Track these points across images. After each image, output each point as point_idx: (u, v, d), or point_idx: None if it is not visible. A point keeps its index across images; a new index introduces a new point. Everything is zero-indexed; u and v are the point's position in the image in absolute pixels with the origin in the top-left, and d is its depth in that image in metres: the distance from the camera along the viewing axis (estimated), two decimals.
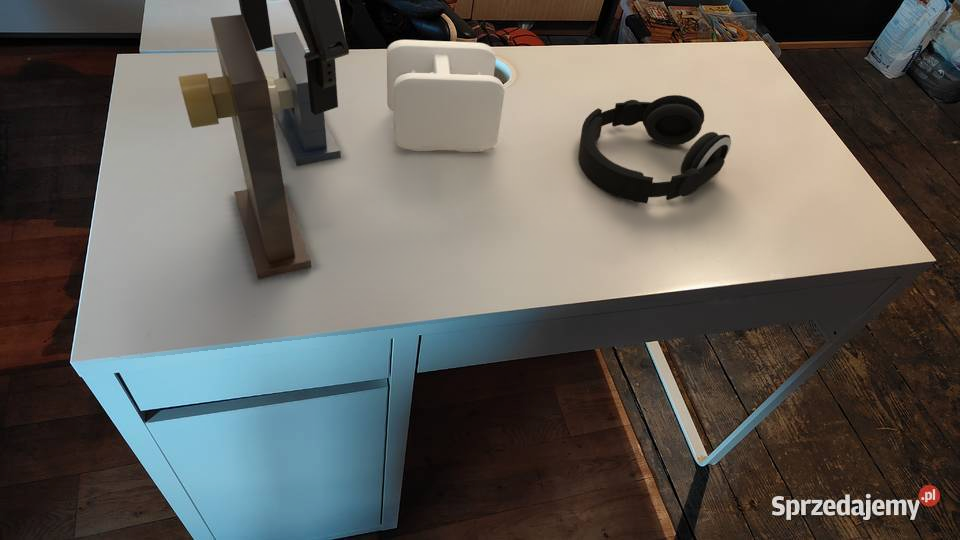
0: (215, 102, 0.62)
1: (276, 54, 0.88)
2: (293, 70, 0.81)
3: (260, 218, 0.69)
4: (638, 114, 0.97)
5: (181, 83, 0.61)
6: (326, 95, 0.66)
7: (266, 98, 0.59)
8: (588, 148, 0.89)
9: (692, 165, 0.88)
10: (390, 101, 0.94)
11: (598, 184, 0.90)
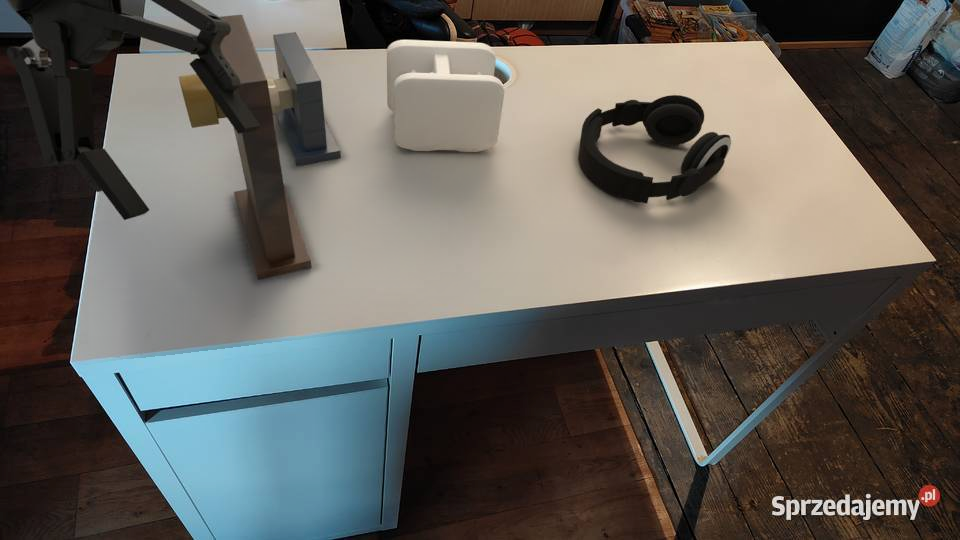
0: (215, 102, 0.62)
1: (276, 54, 0.88)
2: (293, 70, 0.81)
3: (260, 218, 0.69)
4: (638, 114, 0.97)
5: (181, 83, 0.61)
6: (240, 108, 0.54)
7: (266, 98, 0.59)
8: (588, 148, 0.89)
9: (692, 165, 0.88)
10: (390, 101, 0.94)
11: (598, 184, 0.90)
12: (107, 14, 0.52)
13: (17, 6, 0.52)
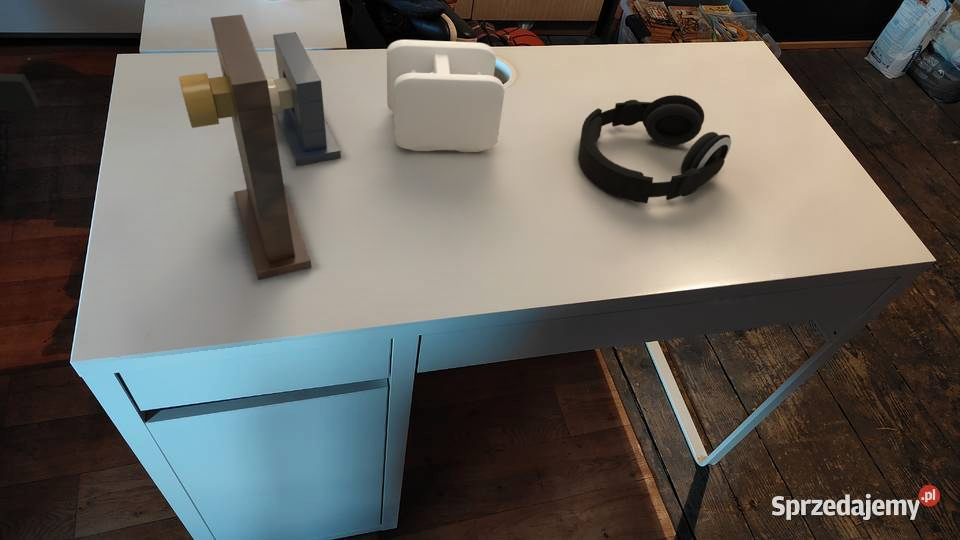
0: (215, 102, 0.62)
1: (276, 54, 0.88)
2: (293, 70, 0.81)
3: (260, 218, 0.69)
4: (638, 114, 0.97)
5: (181, 83, 0.61)
6: None
7: (266, 98, 0.59)
8: (588, 148, 0.89)
9: (692, 165, 0.88)
10: (390, 101, 0.94)
11: (598, 184, 0.90)
12: None
13: None
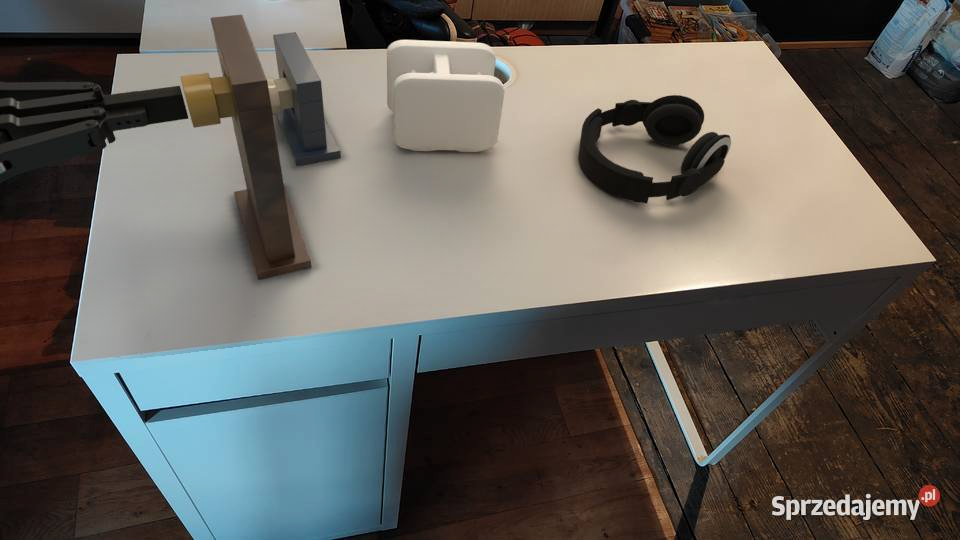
0: (217, 102, 0.62)
1: (276, 54, 0.88)
2: (293, 70, 0.81)
3: (260, 218, 0.69)
4: (638, 114, 0.97)
5: (183, 83, 0.61)
6: None
7: (266, 98, 0.59)
8: (588, 148, 0.89)
9: (692, 165, 0.88)
10: (390, 101, 0.94)
11: (598, 184, 0.90)
12: None
13: None
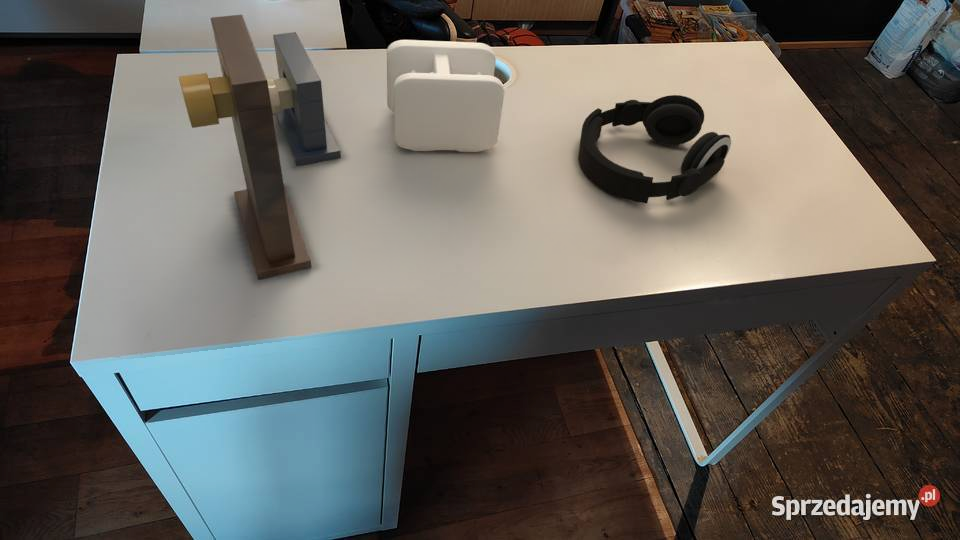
0: (215, 102, 0.62)
1: (276, 54, 0.88)
2: (293, 70, 0.81)
3: (260, 218, 0.69)
4: (638, 114, 0.97)
5: (181, 83, 0.61)
6: None
7: (266, 98, 0.59)
8: (588, 148, 0.89)
9: (692, 165, 0.88)
10: (390, 101, 0.94)
11: (598, 184, 0.90)
12: None
13: None
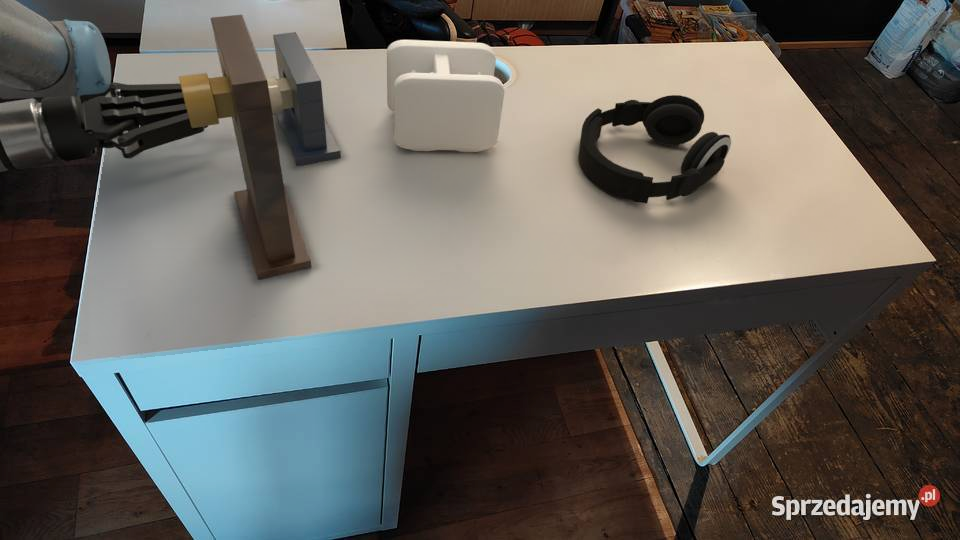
0: (215, 102, 0.62)
1: (276, 54, 0.88)
2: (293, 70, 0.81)
3: (260, 218, 0.69)
4: (638, 114, 0.97)
5: (181, 83, 0.61)
6: None
7: (266, 98, 0.59)
8: (588, 148, 0.89)
9: (692, 165, 0.88)
10: (390, 101, 0.94)
11: (598, 184, 0.90)
12: (128, 97, 0.80)
13: (80, 116, 0.75)
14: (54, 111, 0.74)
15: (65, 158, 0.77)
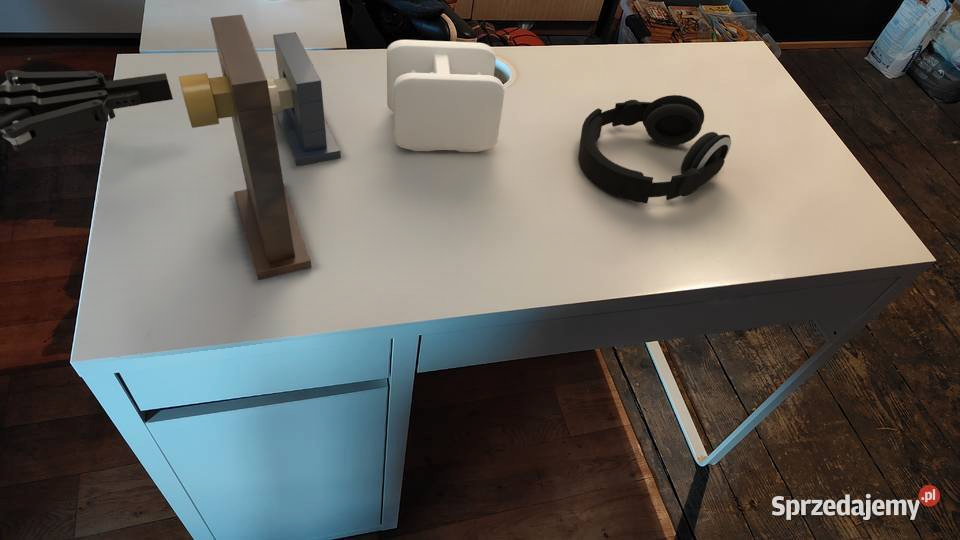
0: (215, 102, 0.62)
1: (276, 54, 0.88)
2: (293, 70, 0.81)
3: (260, 218, 0.69)
4: (638, 114, 0.97)
5: (181, 83, 0.61)
6: None
7: (266, 98, 0.59)
8: (588, 148, 0.89)
9: (692, 165, 0.88)
10: (390, 101, 0.94)
11: (598, 184, 0.90)
12: (24, 85, 0.74)
13: None
14: None
15: None
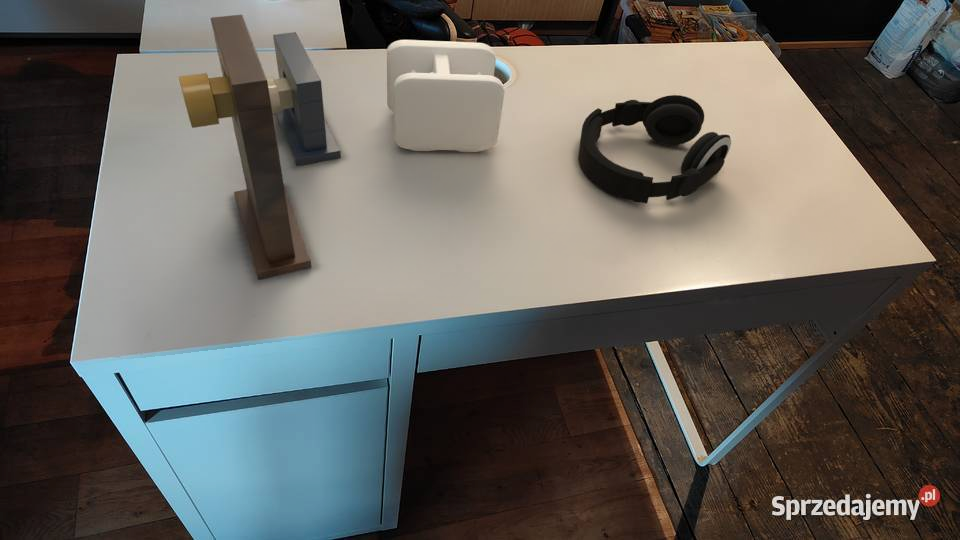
0: (215, 102, 0.62)
1: (276, 54, 0.88)
2: (293, 70, 0.81)
3: (260, 218, 0.69)
4: (638, 114, 0.97)
5: (181, 83, 0.61)
6: None
7: (266, 98, 0.59)
8: (588, 148, 0.89)
9: (692, 165, 0.88)
10: (390, 101, 0.94)
11: (598, 184, 0.90)
12: None
13: None
14: None
15: None
